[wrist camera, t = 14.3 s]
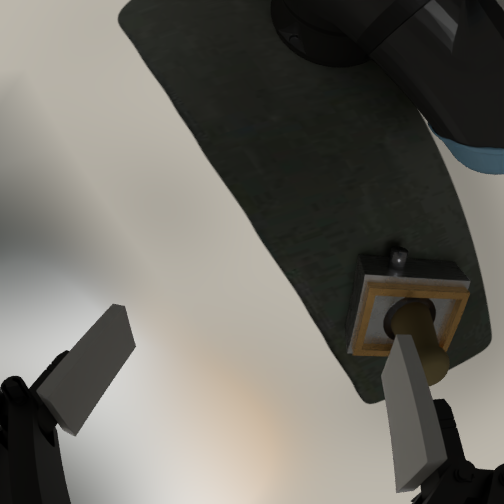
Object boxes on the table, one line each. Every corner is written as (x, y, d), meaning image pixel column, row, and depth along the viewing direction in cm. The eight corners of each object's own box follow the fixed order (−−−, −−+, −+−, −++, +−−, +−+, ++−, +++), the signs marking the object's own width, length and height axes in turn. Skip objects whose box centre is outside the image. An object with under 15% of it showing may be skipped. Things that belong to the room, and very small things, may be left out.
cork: (384, 316, 37) (400, 374, 27) (422, 294, 35) (450, 348, 25) (399, 343, 39) (415, 401, 29) (435, 323, 36) (459, 378, 26)
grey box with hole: (360, 238, 40) (370, 262, 33) (458, 247, 37) (480, 270, 31) (344, 328, 46) (348, 360, 39) (432, 330, 44) (444, 360, 37)
